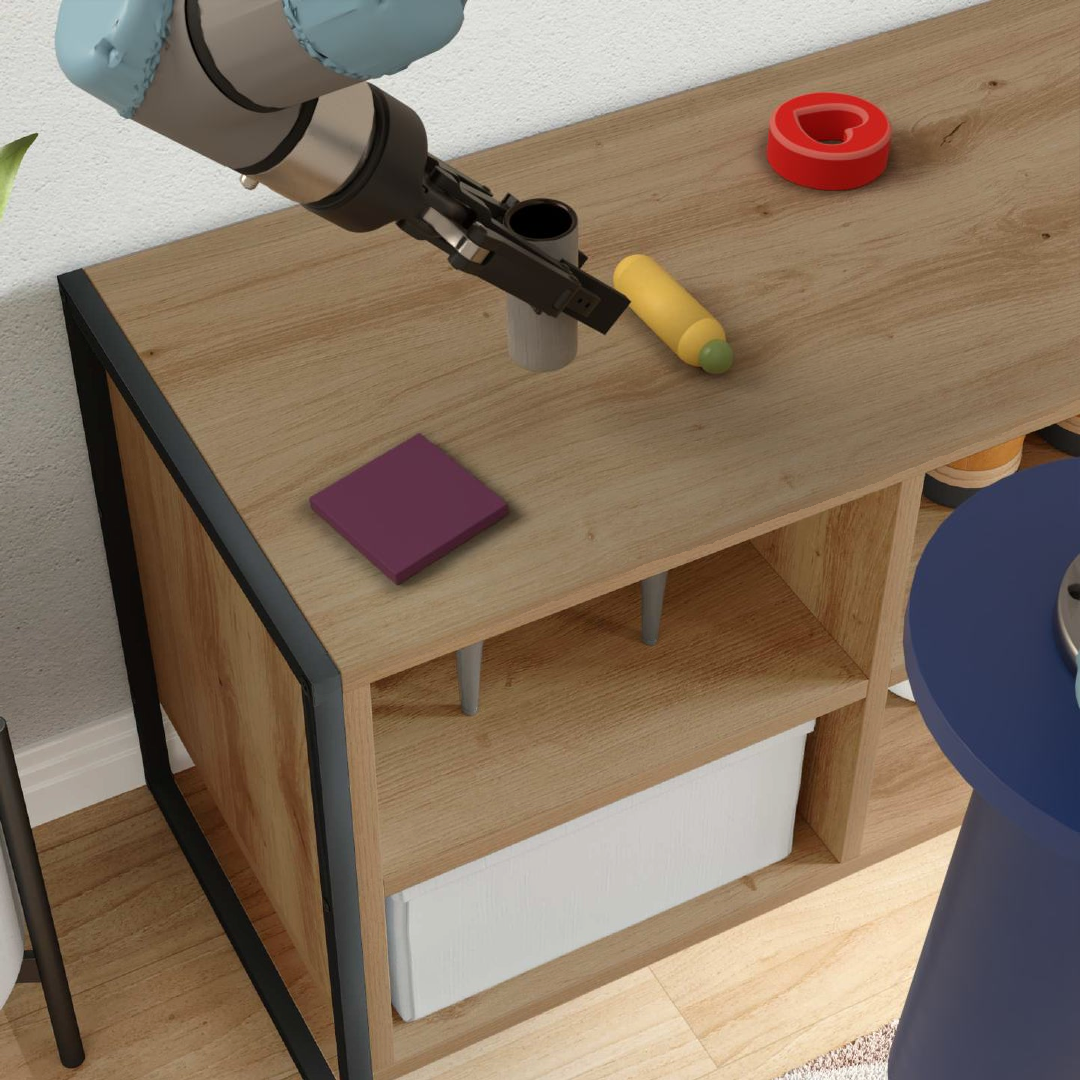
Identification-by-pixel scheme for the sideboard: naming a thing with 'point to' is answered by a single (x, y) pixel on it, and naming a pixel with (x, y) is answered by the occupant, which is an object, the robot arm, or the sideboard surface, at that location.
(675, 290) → the corn
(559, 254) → the grey hollow cylinder
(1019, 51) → the sideboard surface
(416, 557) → the cloth
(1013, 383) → the sideboard surface
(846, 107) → the decorative ornament
